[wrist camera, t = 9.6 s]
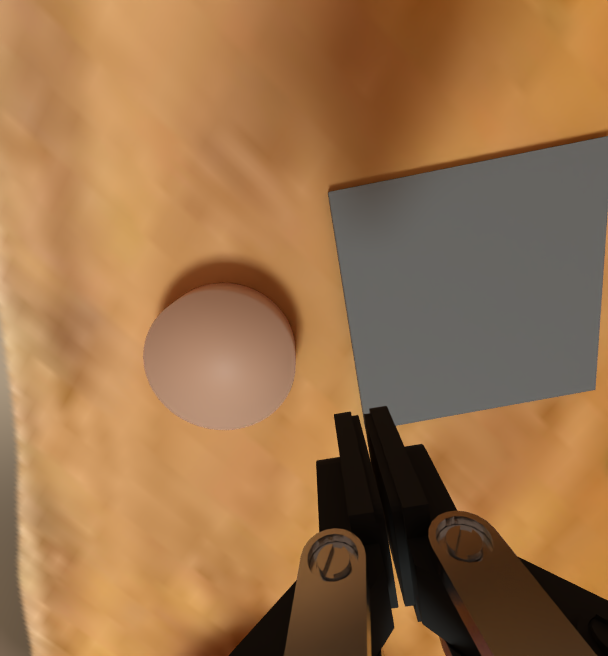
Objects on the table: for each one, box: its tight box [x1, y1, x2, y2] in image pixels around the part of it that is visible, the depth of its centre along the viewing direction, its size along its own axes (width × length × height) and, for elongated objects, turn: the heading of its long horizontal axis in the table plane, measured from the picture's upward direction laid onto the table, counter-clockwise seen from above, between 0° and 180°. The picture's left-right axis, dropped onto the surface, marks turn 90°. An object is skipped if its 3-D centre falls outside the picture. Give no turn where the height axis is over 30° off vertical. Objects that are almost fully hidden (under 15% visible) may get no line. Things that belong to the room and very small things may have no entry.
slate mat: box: [328, 136, 608, 429], centre depth 23 cm, size 16×16×1 cm
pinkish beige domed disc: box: [143, 283, 296, 430], centre depth 23 cm, size 9×9×3 cm
